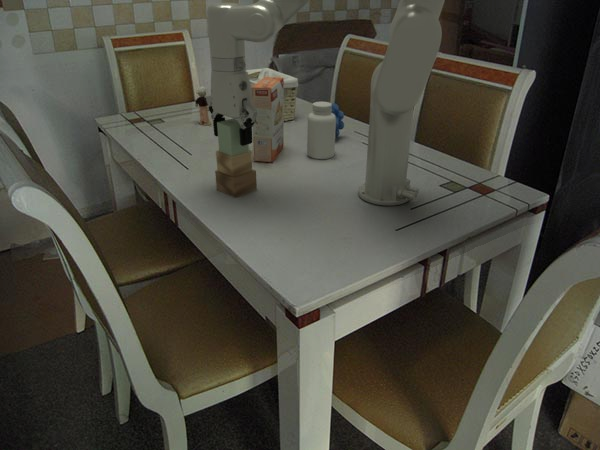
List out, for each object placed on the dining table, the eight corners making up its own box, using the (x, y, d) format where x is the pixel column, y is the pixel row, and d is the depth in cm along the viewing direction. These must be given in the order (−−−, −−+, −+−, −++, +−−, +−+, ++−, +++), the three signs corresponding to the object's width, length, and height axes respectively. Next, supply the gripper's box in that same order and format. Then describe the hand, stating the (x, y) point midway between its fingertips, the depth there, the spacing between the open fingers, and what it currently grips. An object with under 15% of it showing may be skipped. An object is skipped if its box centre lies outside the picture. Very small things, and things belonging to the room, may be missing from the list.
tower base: (256, 189, 126) (256, 170, 123) (234, 198, 121) (233, 178, 119) (238, 181, 130) (237, 163, 128) (216, 189, 125) (215, 171, 123)
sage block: (248, 151, 121) (247, 122, 117) (231, 156, 118) (230, 127, 114) (235, 146, 124) (234, 118, 121) (219, 151, 121) (216, 122, 118)
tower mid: (252, 170, 123) (251, 151, 121) (232, 177, 120) (231, 157, 117) (236, 164, 127) (235, 145, 125) (217, 170, 123) (215, 151, 121)
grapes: (321, 146, 154) (322, 107, 148) (309, 140, 159) (309, 102, 153) (351, 139, 160) (353, 101, 154) (338, 134, 165) (339, 97, 159)
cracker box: (274, 163, 141) (272, 87, 132) (253, 162, 142) (249, 86, 133) (285, 147, 153) (284, 76, 144) (266, 146, 154) (263, 75, 145)
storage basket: (230, 111, 190) (228, 70, 183) (269, 105, 197) (268, 66, 190) (258, 127, 172) (256, 83, 165) (300, 120, 179) (300, 78, 172)
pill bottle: (326, 161, 142) (327, 108, 135) (301, 156, 146) (302, 104, 139) (339, 153, 148) (341, 102, 141) (315, 148, 152) (316, 98, 145)
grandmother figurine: (216, 124, 175) (213, 86, 169) (209, 126, 172) (206, 89, 166) (200, 120, 179) (196, 84, 173) (192, 123, 176) (188, 86, 170)
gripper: (267, 67, 108) (269, 144, 116) (218, 57, 119) (223, 128, 127) (240, 72, 104) (244, 152, 112) (191, 61, 114) (198, 135, 122)
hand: (233, 139), depth 119 cm, fingers open, 9 cm apart
